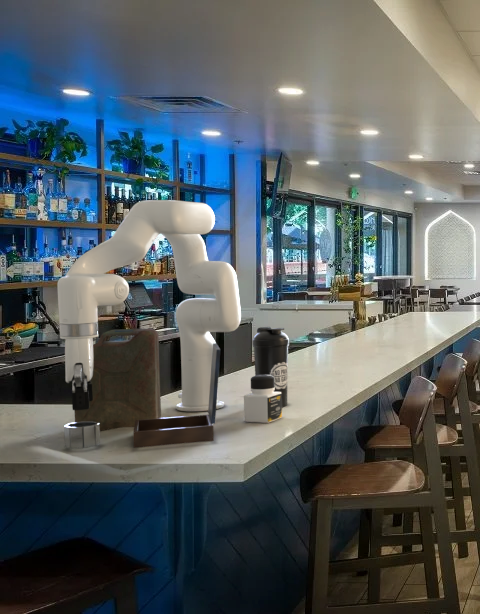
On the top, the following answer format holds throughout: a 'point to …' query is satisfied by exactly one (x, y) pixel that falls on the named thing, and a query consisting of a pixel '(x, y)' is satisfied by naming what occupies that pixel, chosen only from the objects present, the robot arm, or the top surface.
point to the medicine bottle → (262, 400)
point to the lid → (214, 383)
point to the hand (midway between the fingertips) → (83, 405)
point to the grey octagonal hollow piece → (82, 434)
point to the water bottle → (272, 357)
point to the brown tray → (172, 430)
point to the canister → (124, 380)
